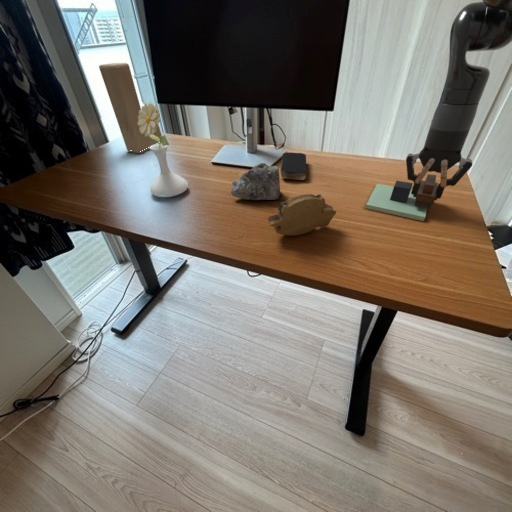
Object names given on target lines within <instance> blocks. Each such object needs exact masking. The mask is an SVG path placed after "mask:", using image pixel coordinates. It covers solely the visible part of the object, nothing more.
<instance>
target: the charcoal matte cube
mask: <svg viewBox="0 0 512 512" xmlns="http://www.w3.org/2000/svg"><path fill="white" fill-rule="evenodd" d="M413 186H414V182H407V181H401V180H396V181H395V183H394V188H393V191H392V195H391V198H390V200H392V201H397V202H402V203H406V202H407V199H408V196H409V194H410V191H411V190H412V189H413Z"/></svg>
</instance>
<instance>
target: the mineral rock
mask: <svg viewBox="0 0 512 512" xmlns="http://www.w3.org/2000/svg"><path fill="white" fill-rule="evenodd" d="M280 180H281V179H280V170H279V167H278V166H277V165H268V164H267V163H265V162H260V163H258V164H256V165H254V166H253V167H252V168H251V169H250V170H248V171H246V172H243V174H242V175H241V176H240V177H239V178H238V179H235V180H234V181H233V182H232V183H231V184H232V189H231V191H230V193H231V195H232V196H233V197H234V198H238V199H242V200H248V201H249V200H253V201H260V200H262V201H263V200H265V201H266V200H271V201H272V200H274V201H275V200H279V199H280V197H281V193H282V192H281V186H280V183H281V182H280Z"/></svg>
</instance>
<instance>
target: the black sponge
mask: <svg viewBox="0 0 512 512" xmlns="http://www.w3.org/2000/svg"><path fill="white" fill-rule="evenodd" d="M280 165H281V167H280V178H282V179H287V180H298V181H305V180H306V179H307V155H306V154H305V153H302V152H284V153H282V158H281V164H280Z"/></svg>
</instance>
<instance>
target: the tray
mask: <svg viewBox="0 0 512 512" xmlns="http://www.w3.org/2000/svg"><path fill="white" fill-rule="evenodd" d="M393 188H394V186H393V185H388V184H382V183H377V184H376V185H375V187H374V189H373V190H372V192H371V194H370V196H369V199H368V200H367V202H366V204H365V208H364V209H366V210H371V211H375V212H381V213H385V214H388V215H389V214H390V215H393V216H398V217H403V218H405V219H406V218H407V219H411V220H416V221H420V222H424V221H425V219H426V216H427V212H428V209H427V208H421V207H415V206H414V205H415V201H416V200H415V199H416V197H413V195H412V194H411V192H412V189H411V191H410V194H409V196H408V199H407V202H406V203H402V202H397V201H392V200H390V198H391V195H392V191H393Z"/></svg>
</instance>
